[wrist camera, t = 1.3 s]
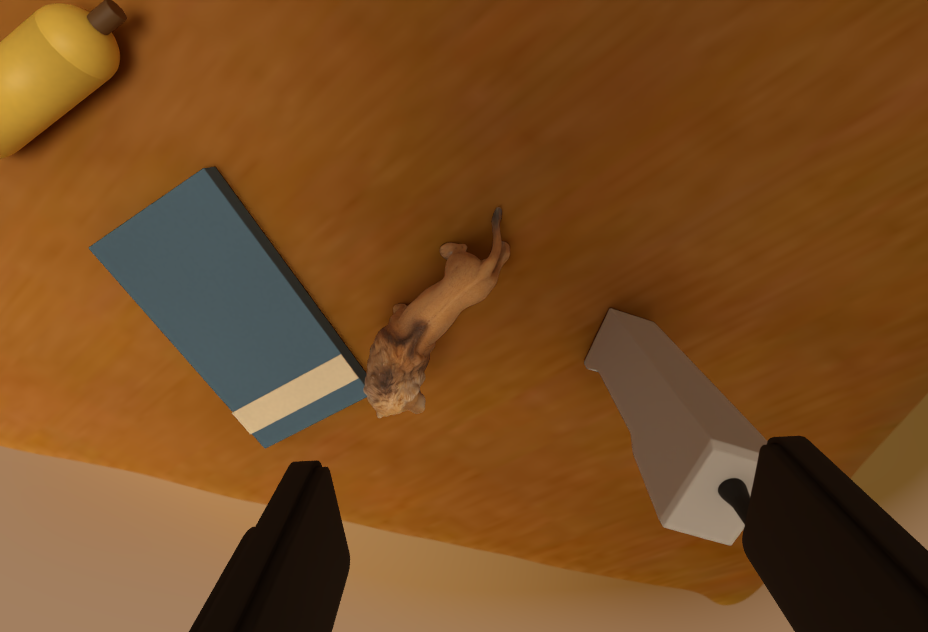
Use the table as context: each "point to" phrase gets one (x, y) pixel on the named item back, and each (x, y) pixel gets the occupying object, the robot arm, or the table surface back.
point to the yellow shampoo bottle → (53, 67)
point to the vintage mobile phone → (678, 429)
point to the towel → (233, 308)
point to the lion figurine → (428, 325)
